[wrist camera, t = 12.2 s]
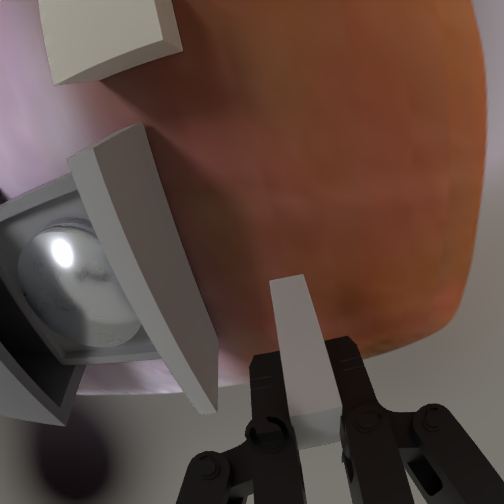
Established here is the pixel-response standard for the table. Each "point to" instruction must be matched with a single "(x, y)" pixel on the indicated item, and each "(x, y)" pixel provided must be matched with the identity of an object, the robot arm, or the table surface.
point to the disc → (75, 285)
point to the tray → (123, 260)
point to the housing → (31, 370)
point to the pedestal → (105, 36)
